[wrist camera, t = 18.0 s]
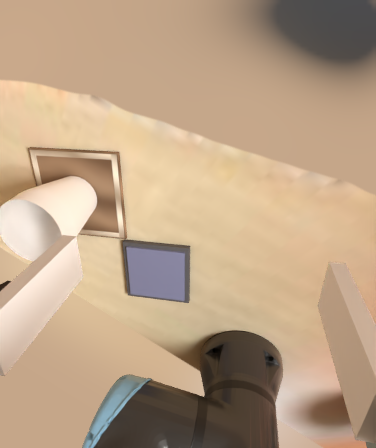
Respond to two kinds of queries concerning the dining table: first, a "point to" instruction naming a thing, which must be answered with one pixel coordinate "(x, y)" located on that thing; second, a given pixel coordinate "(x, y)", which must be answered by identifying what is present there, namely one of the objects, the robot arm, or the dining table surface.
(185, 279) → the ink pad
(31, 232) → the cup
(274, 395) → the robot arm
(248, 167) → the dining table surface
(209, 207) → the dining table surface
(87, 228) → the marked board
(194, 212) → the dining table surface
